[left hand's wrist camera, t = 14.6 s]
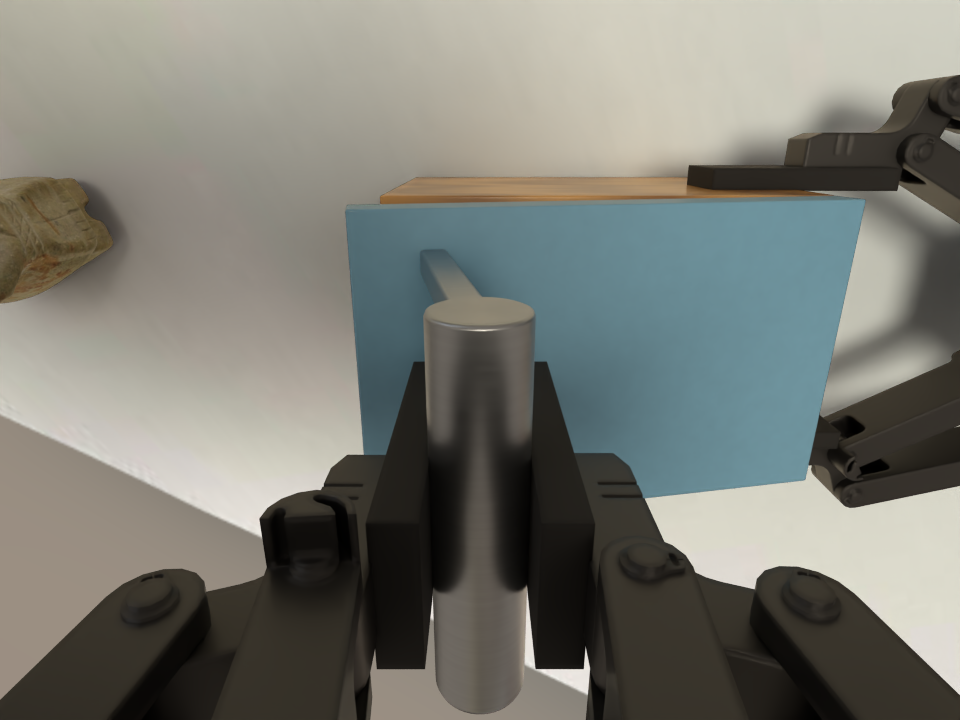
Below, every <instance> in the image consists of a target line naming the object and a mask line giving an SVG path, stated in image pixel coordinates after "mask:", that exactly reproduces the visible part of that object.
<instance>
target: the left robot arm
mask: <svg viewBox="0 0 960 720" xmlns="http://www.w3.org/2000/svg"><path fill="white" fill-rule="evenodd" d="M260 526H261V532H262V539H263V545H264V552H265V558H266V565H267V569H266V571H265V574H264V576H262V577H260V578H258V579H256V580H253V581H249V582H246V583H243V584H240V585H235V586H230V587H226V588H221V589H217V590H213V591H208V592H206V588H205V583H204V581H203V580H202V579H201V578H200V577H199V575H198V574H197V573H195V572H191V571H188V570H184V569H163V570H159V571H155V572H151V573H148V574H143V575H141V576H139V577H137V578H135V579H133V580H131V581H128V582H126V583H124V584H123V585H121V586H120V587H119V588H117V589H116V590H115V591H113V592H112V593H111V594H109V595H108V596H107V597H106V598H105V599H103V600H102V601H101V602H100V603H99V604H98V605H97V606H96V607H95V608H94V609H93V610H92V611H91V612H90V613H89V614H88V615H87V616H86V617H85V618H84V619H83V620H82V621H81V622H80V623H79V624H78V625H77V626H76V627H75V628H74V629H73V630H72V631H71V632H70V633H69V634H68V635H66V636H65V637H64V638H63V639H62V640H61V641H60V642H59V643H58V644H57V645H56V646H55V647H54V648H53V649H52V650H51V651H50V652H49V653H48V654H47V655H46V656H45V657H44V658H43V659H42V660H41V661H40V662H39V663H38V664H37V665H36V666H35V667H34V668H33V669H31V670H30V671H29V672H28V673H27V674H26V675H25V676H24V677H23V678H22V679H21V680H20V681H19V682H18V683H17V684H16V685H15V686H14V687H13V688H12V689H11V690H10V691H9V692H8V693H7V694H6V695H5V696H4V697H3V698H2V699H1V700H0V720H370V716H371V705H372V690H371V678H370V670H371V666H372V661H373V656H374V651H375V652H376V664H377V669H425V664H426V654H427V644H428V635H429V625H430V615H431V606H432V596H433V560H432V530H431V500H430V471H429V457H428V438H427V409H426V380H425V362H413V366H412V369H411V372H410V376H409V379H408V382H407V386H406V389H405V392H404V396H403V399H402V402H401V406H400V409H399V412H398V416H397V419H396V422H395V426H394V429H393V432H392V436H391V439H390V442H389V446H388V449H387V452H386V455H347V456H345V457H344V458H343V459H342V460H341V461H339V462H338V463H337V464H336V465H334V466H333V467H332V468H331V469H330V472H329V474H328V476H327V478H326V480H325V483H324V487H322V489H321V490H313V491H306V492H300V493H296V494H293V495H291V496H288V497H285V498H282V499H280V500H279V501H277V502H276V503H274V504H273V505H271V506H270V507H268V508H267V509H266V511H265V512H264V513H263V515H262V516H261V517H260ZM527 591H528V600H529V610H530V620H531V629H532V639H533V649H534V658H535V668H536V669H584V659H585V646H586V650H587V655H588V660H589V665H590V678H589V689H588V701H587V713H586V720H960V695H959V694H958V693H957V692H956V691H955V690H954V689H953V688H952V687H951V686H950V685H949V684H948V683H947V682H946V681H945V680H944V679H942V678H941V677H940V676H939V675H938V674H937V673H936V672H935V671H934V670H933V669H932V668H931V667H930V666H929V665H928V664H927V663H926V662H925V661H924V660H923V659H922V658H921V657H920V656H919V655H918V654H917V653H916V652H914V651H913V650H912V649H911V648H910V647H909V646H908V645H907V644H906V643H905V642H904V641H903V640H902V639H901V638H900V637H899V636H898V635H897V634H896V633H895V632H894V631H893V630H892V629H891V628H890V627H889V626H888V625H886V624H885V623H884V622H883V621H882V620H881V619H880V618H879V617H878V616H877V615H876V614H875V613H874V612H873V611H872V610H871V609H870V608H869V607H868V606H867V605H866V604H865V603H864V602H863V601H862V600H861V599H860V598H859V597H857V596H856V595H855V594H854V593H853V592H851V591H850V590H849V589H848V588H846V587H845V586H844V585H842V584H841V583H840V582H838V581H836V580H834V579H832V578H830V577H828V576H825V575H823V574H821V573H819V572H816V571H812V570H808V569H804V568H800V567H786V566H779V567H775V568H772V569H768V570H765V571H764V572H763V573H762V574H761V575H760V576H759V577H758V578H757V581H756V586H755V589H750V588H746V587H741V586H737V585H732V584H728V583H723V582H719V581H716V580H713V579H709V578H706V577H704V576H702V575H700V574H697V573H695V571H694V568H693V566H692V564H691V563H690V561H689V560H688V558H687V557H686V555H685V554H683V553H682V552H681V551H679V550H678V549H677V548H675V547H674V546H673V545H670V544H668V543H666V542H664V540H663V538H662V536H661V534H660V531H659V529H658V527H657V525H656V523H655V520H654V518H653V516H652V514H651V512H650V509H649V507H648V505H647V503H646V501H645V499H644V498H643V494H642V492H641V490H640V488H639V485H637V481H636V479H635V477H634V474H633V472H632V470H631V468H630V466H629V465H628V464H626V463H625V462H624V461H623V460H621V459H620V458H619V457H618V456H616V455H615V454H614V453H574V450H573V447H572V444H571V440H570V437H569V434H568V430H567V427H566V424H565V420H564V417H563V414H562V410H561V407H560V404H559V400H558V397H557V394H556V390H555V387H554V384H553V380H552V377H551V373H550V370H549V367H548V363H547V362H535V361H534V390H533V420H532V450H531V474H530V504H529V534H528V564H527Z"/></svg>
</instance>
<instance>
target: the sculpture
mask: <svg viewBox="0 0 960 720" xmlns="http://www.w3.org/2000/svg"><path fill="white" fill-rule="evenodd" d="M88 202H89V199H88V197H87V195H86V193H85V192H84V190H83V189H82V188H81V187H80V185H79V184H78V183H77V181H75V180H74V179H71V178H66V179H57V180H55V179H53V178H48V177H20V178H10V179H3V180H0V303H9V302H14V301H18V300H22V299H26V298H29V297H32V296H35V295H37V294H40V293H42V292H44V291H46V290H48V289H49V288H51V287H52V286H54V285H56V284H57V283H59V282H60V281H62V280H63V279H64V278H66V277H67V276H69V275H70V274H72V273H73V272H74V271H76V270H77V269H78V268H80V267H81V266H83V265H84V264H86V263H88V262H89V261H91V260H93V259H94V258H96V257H97V256H99V255H100V254H101V253H103V252H105V251H106V250H108V249H109V248H110V247H111V246H112V245H113V240H112V238H111V236H110V234H109V232H108V230H107V228H106V226H105V225H104V224H103V222H101V221H99V220H96V219H93V218H92V217H90V216H89V215H88V214H87V212H86V211H85V206H86V205H87V204H88Z"/></svg>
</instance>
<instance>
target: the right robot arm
mask: <svg viewBox="0 0 960 720" xmlns="http://www.w3.org/2000/svg"><path fill="white" fill-rule="evenodd" d="M892 107H893V110H894V111H893V112H892V114H891V116H890V118H889V119H888V121H887V122H886V123H885V124H884V125H883V126H882V127H881V128H880V129H878V130H877V131H874V132H872V133H803V134H800V135H798V136H795V137H793V138H790V139H788V145H787V151H786V157H785V163H784V165H689V170H688V178H687V185H690V186H695V187H700V188H705V189H710V190H802V191H897V189H898V185H900V186H902V187H903V188H905V189H907V190H908V191H910V192H911V193H913V194H914V195H916V196H917V197H919V198H921V199H922V200H924V201H925V202H927V203H928V204H930V205H931V206H933V207H935V208H936V209H938V210H939V211H941V212H942V213H944V214H945V215H947V216H949V217H950V218H952V219H953V220H955V221H956V222H958V223H959V224H960V151H958V150H957V149H955V148H954V147H952V146H951V145H949V144H948V143H946V142H945V141H943V140H942V139H940V136H941V135H942V133H943V131H944V130H948V131H951V132H954V133H958V134H960V75H956V76H949V77H942V78H935V79H928V80H921V81H914V82H909V83H906V84H903V85H902V86H901V87H900V88H898V90H897V91H896V93H895V94H894V96H893V100H892ZM959 425H960V350H959V351H957V352H955V353H954V354H953V355H952V361H951V362H949V363H947V364H945V365H942V366H940V367H938V368H936V369H933V370H931V371H929V372H927V373H924V374H922V375H920V376H917V377H915V378H913V379H911V380H908V381H906V382H904V383H901V384H899V385H897V386H895V387H892V388H890V389H888V390H886V391H883V392H881V393H879V394H876V395H874V396H872V397H870V398H867V399H865V400H863V401H860V402H858V403H856V404H854V405H851V406H849V407H847V408H844V409H842V410H840V411H838V412H835V413H833V414H831V415H829V416H826V417H824V418H823V417H821V416H820V415H819V418H818V423H817V428H816V432H815V437H814V442H813V446H812V451H811V455H810V460H809V465H812V468H811V471H812V474H813V475H814V476H815V477H816V478H817V479H818V480H819V481H820V482H821V483H822V484H823V485H824V486H825V487H826V488H827V489H828V490H829V491H830V492H831V493H832V494H833V495H834V496H835V497H836V498H837V499H838V500H839V501H840V502H841V503H842V504H843V505H844V506H846V507H849V508H855V507H860V506H865V505H870V504H875V503H879V502H884V501H889V500H894V499H899V498H904V497H908V496H913V495H918V494H923V493H928V492H932V491H937V490H942V489H947V488H952V487H957V486H960V426H959ZM956 426H959V427H956ZM954 427H955V428H954Z"/></svg>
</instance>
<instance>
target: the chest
mask: <svg viewBox="0 0 960 720" xmlns="http://www.w3.org/2000/svg"><path fill="white" fill-rule="evenodd" d="M687 178H688V177H416V178H414V179H412V180H411V181H409V182H407V183H405V184H403V185H401V186H399V187H397V188H395V189H393V190H391V191H389V192H387V193H385V194H384V195H382V196H380V204H417V203H471V202H525V201H580V200H634V199H688V198H743V197H797V196H834V195H828V194H822V193H815V192H809V191H802V190H710V189H705V188H700V187H695V186H690V185H687Z"/></svg>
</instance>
